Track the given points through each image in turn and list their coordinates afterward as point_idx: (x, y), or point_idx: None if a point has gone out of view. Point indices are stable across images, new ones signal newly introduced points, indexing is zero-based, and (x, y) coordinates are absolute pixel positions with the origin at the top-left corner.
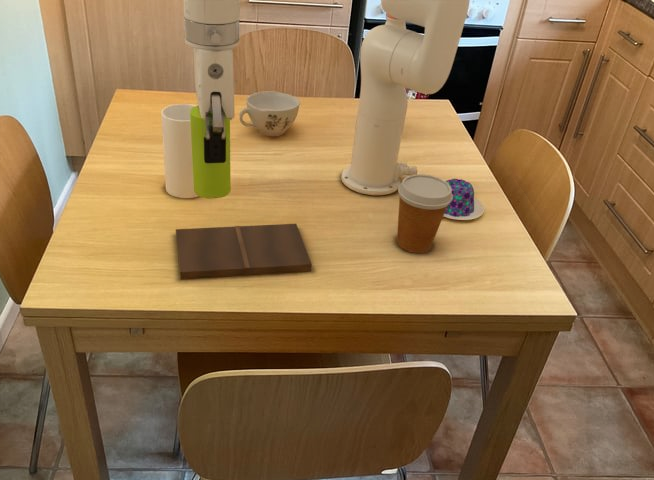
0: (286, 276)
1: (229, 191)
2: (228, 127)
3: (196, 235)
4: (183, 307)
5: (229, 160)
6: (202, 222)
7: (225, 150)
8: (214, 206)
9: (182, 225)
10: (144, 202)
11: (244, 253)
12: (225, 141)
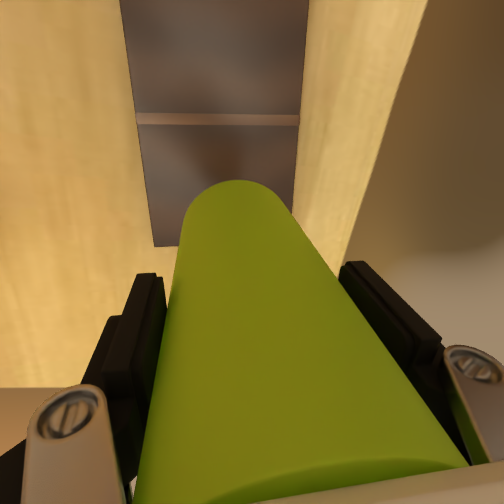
0: (313, 28)
1: (263, 186)
2: (368, 346)
3: (177, 211)
4: (350, 231)
5: (286, 226)
6: (98, 190)
7: (393, 291)
8: (17, 157)
9: (115, 229)
10: (33, 294)
11: (250, 118)
12: (423, 323)
